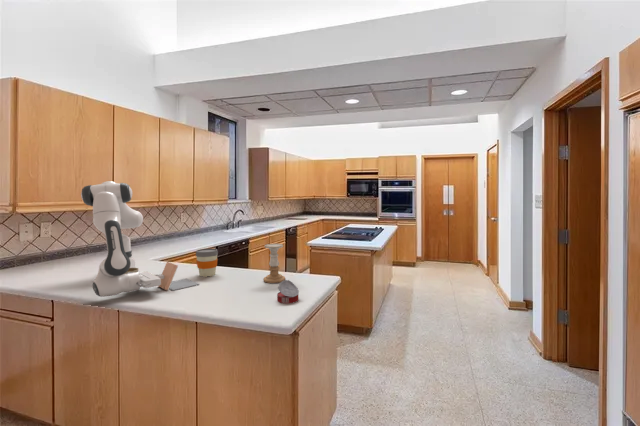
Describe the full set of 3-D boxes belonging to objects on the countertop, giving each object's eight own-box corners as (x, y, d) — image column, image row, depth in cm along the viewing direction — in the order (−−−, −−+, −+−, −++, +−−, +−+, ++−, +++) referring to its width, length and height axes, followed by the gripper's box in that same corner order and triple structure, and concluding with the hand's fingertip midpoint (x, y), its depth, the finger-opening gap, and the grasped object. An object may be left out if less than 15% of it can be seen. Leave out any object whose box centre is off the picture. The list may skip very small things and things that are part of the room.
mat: (160, 284, 172) (160, 283, 172) (186, 279, 182) (186, 278, 182) (172, 290, 161) (172, 289, 161) (199, 284, 171) (199, 283, 171)
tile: (157, 285, 168) (166, 261, 171) (160, 286, 169) (170, 262, 172) (164, 289, 161) (174, 264, 164) (168, 290, 162) (178, 265, 165)
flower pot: (143, 284, 172) (142, 268, 172) (125, 289, 164) (124, 272, 164) (133, 282, 177) (132, 266, 176) (115, 286, 169) (114, 270, 168)
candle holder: (261, 283, 173) (260, 246, 172) (265, 277, 186) (265, 243, 184) (283, 283, 173) (283, 246, 172) (286, 277, 185) (286, 243, 184)
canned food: (294, 306, 152) (303, 287, 153) (293, 311, 142) (303, 291, 143) (273, 295, 152) (283, 276, 152) (270, 300, 142) (281, 280, 142)
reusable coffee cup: (214, 277, 185) (213, 252, 184) (192, 277, 185) (192, 252, 184) (221, 272, 198) (220, 248, 197) (201, 272, 198) (200, 248, 197)
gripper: (140, 279, 148) (171, 273, 158) (127, 271, 161) (155, 266, 172) (141, 292, 148) (171, 286, 158) (127, 283, 162) (156, 278, 172)
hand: (163, 276), depth 165 cm, fingers closed
